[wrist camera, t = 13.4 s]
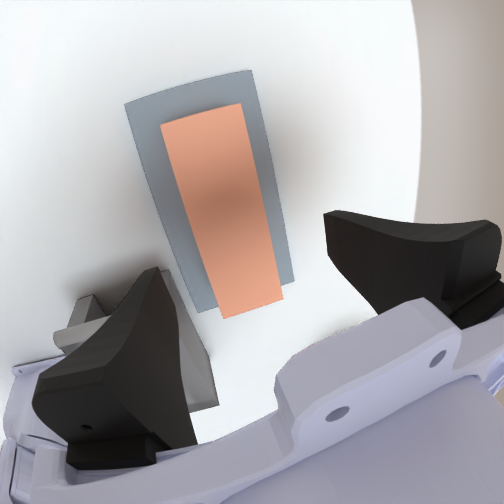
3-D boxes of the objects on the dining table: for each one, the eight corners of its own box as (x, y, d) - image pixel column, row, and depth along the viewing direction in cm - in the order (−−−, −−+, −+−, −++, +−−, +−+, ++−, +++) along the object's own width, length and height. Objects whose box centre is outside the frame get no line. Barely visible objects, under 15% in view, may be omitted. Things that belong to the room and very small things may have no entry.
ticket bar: (214, 285, 22) (223, 319, 18) (163, 123, 16) (159, 125, 13) (265, 268, 22) (283, 299, 19) (227, 105, 16) (240, 103, 13)
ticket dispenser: (129, 378, 25) (128, 425, 20) (70, 292, 20) (51, 339, 15) (211, 356, 26) (221, 404, 21) (167, 259, 21) (167, 305, 16)
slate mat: (197, 307, 23) (198, 313, 23) (126, 104, 15) (124, 104, 15) (290, 276, 24) (294, 281, 23) (248, 71, 16) (251, 69, 16)
